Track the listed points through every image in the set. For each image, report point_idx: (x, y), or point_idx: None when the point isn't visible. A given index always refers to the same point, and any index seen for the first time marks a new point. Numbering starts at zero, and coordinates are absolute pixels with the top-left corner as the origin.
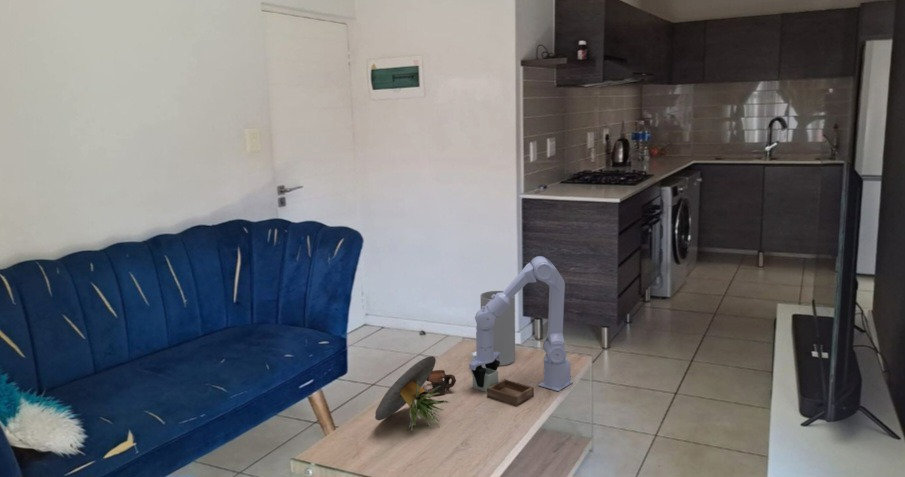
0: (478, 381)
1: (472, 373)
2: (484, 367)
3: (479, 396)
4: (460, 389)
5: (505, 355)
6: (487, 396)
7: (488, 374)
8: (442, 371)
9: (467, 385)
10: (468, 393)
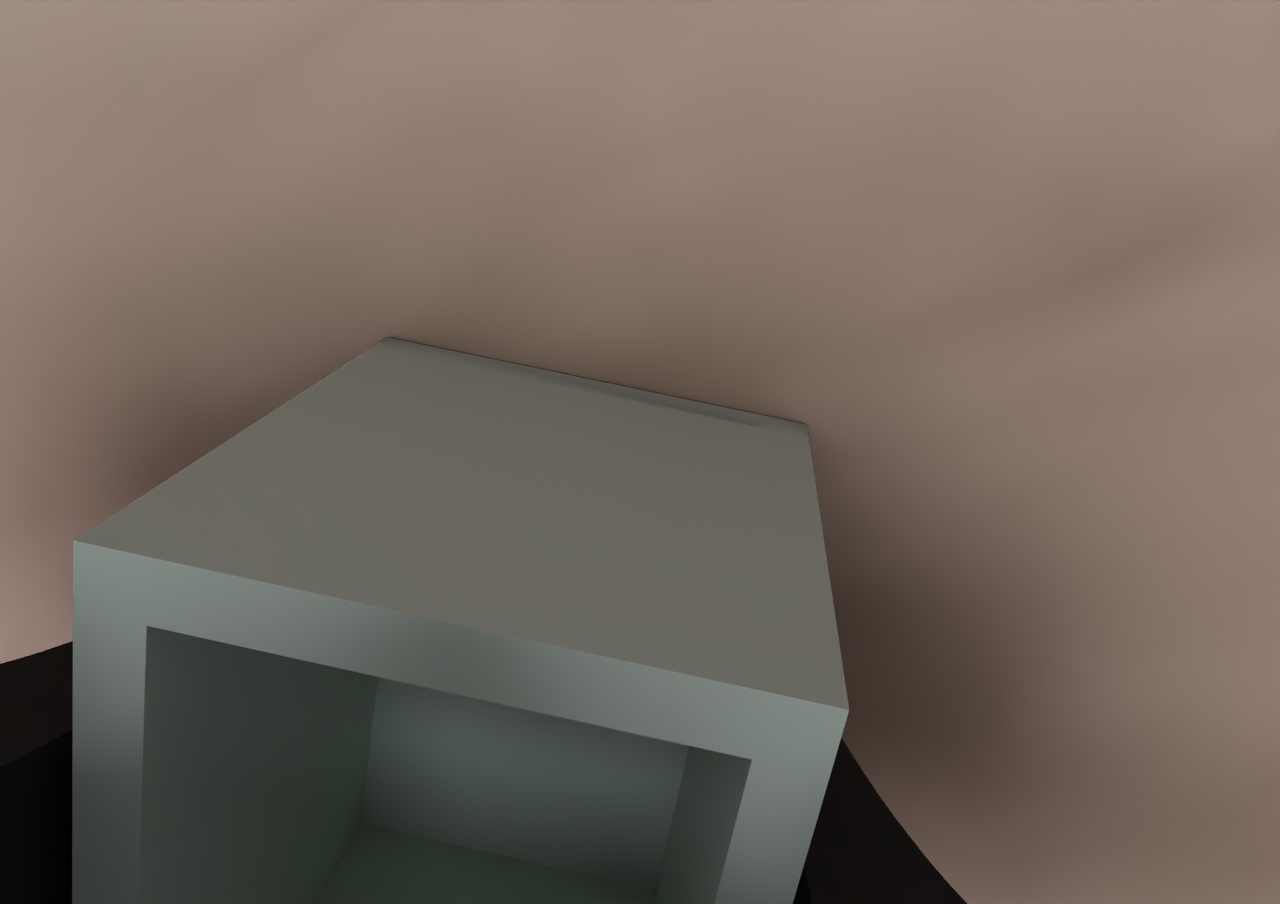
0: None
1: (149, 491)
2: (777, 873)
3: None
4: (96, 67)
5: None
6: None
7: (681, 892)
8: None
9: (452, 110)
10: (25, 405)
